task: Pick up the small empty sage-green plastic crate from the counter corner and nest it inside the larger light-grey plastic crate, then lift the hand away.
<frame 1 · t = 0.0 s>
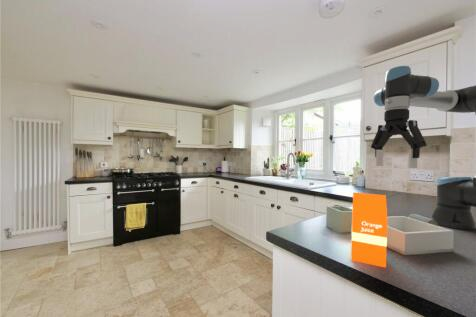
hand: (394, 166, 80), 28 cm above the counter, tool pointing down, fingers open, 13 cm apart
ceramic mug: (423, 234, 90), on the counter
orange juice: (367, 259, 66), on the counter
grey crate: (403, 242, 80), on the counter
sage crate: (341, 229, 93), on the counter
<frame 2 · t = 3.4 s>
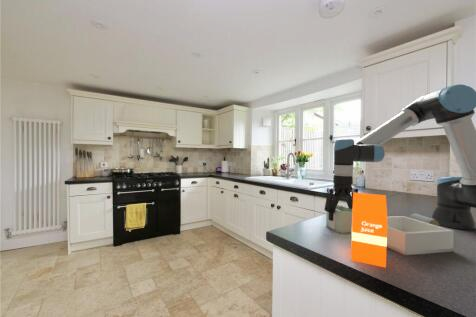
hand: (341, 227, 93), 1 cm above the counter, tool pointing down, fingers closed on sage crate, 8 cm apart
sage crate: (341, 229, 93), on the counter, touching gripper
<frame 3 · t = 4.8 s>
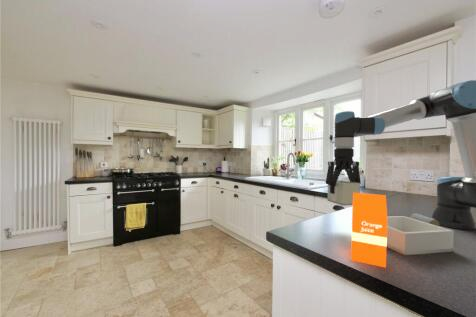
hand: (342, 200, 92), 12 cm above the counter, tool pointing down, fingers closed on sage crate, 8 cm apart
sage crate: (342, 202, 92), point 12 cm above the counter, touching gripper
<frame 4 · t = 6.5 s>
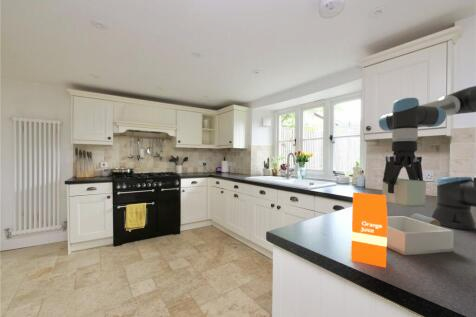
hand: (402, 201, 80), 15 cm above the counter, tool pointing down, fingers closed on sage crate, 8 cm apart
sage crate: (402, 203, 80), point 14 cm above the counter, touching gripper
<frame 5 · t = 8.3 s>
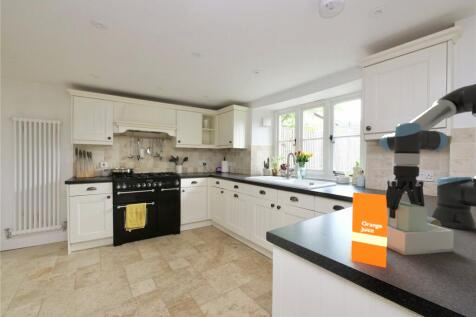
hand: (403, 226, 80), 6 cm above the counter, tool pointing down, fingers closed on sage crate, 8 cm apart
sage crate: (403, 228, 80), point 5 cm above the counter, touching gripper
when the fingers open (3 cm above the counter, at t = 9.8 s): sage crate drops 1 cm, resting on grey crate.
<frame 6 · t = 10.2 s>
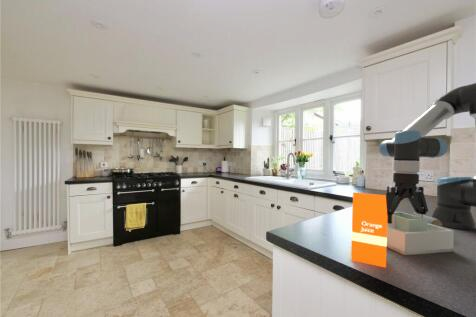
hand: (403, 231, 80), 4 cm above the counter, tool pointing down, fingers open, 11 cm apart
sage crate: (403, 239, 80), point 1 cm above the counter, touching grey crate
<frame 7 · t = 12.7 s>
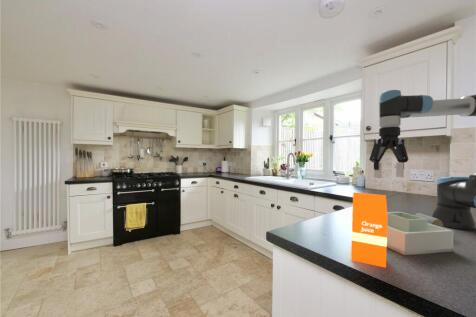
hand: (389, 177, 93), 23 cm above the counter, tool pointing down, fingers open, 11 cm apart
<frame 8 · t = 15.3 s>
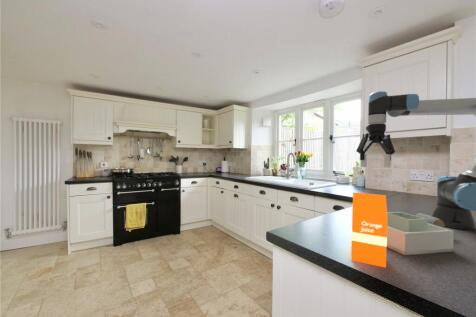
hand: (375, 167, 106), 27 cm above the counter, tool pointing down, fingers open, 13 cm apart
at the end: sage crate inside the target area on the grey crate (0.0 cm from its centre), point 1.0 cm above the grey crate's base; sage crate tilted 0°; the gripper is holding nothing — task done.
